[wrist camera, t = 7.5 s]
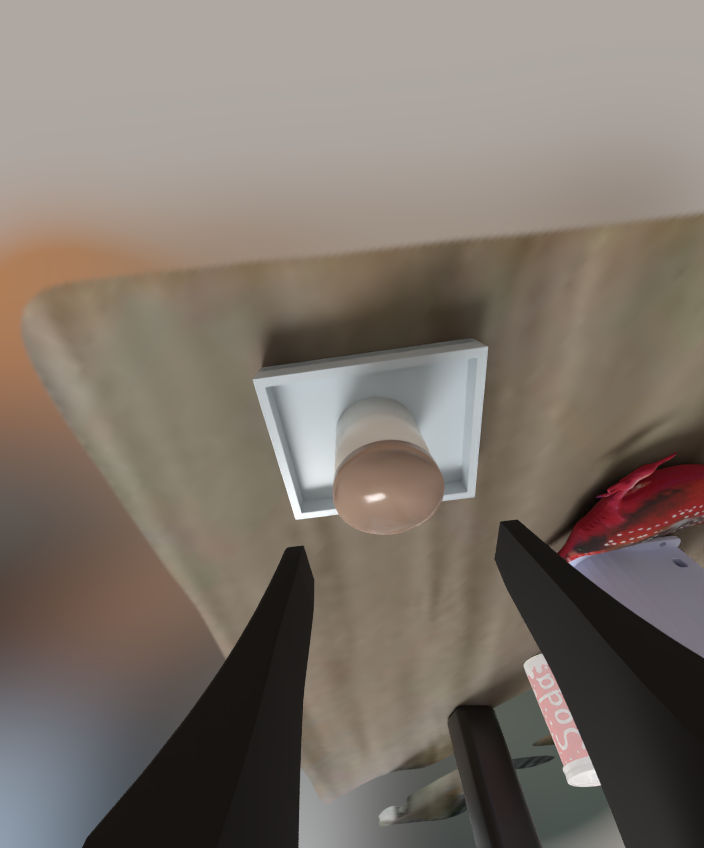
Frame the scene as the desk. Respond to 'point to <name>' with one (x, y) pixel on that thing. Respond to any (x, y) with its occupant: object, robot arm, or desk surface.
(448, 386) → the tray
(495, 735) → the wine bottle
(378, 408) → the espresso cup
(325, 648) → the desk surface
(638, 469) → the decorative bird figurine
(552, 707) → the beverage cup
